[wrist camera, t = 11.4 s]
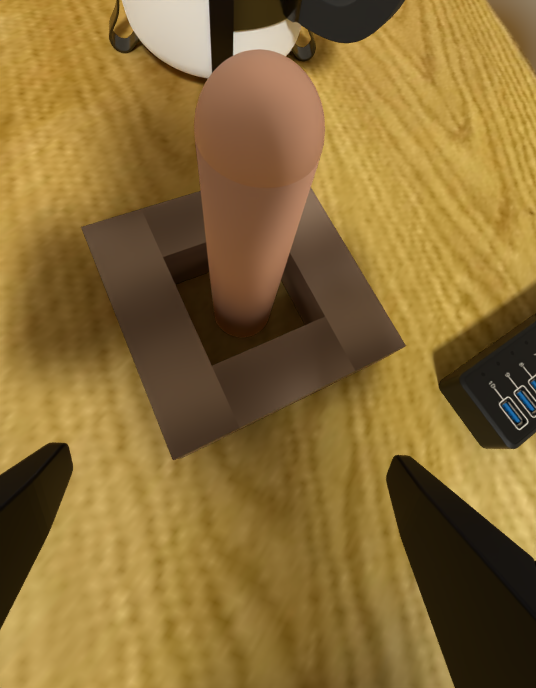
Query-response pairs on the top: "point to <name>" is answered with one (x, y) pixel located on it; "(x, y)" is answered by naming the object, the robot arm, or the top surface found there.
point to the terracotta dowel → (254, 178)
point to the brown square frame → (254, 364)
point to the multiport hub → (498, 390)
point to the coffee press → (242, 27)
